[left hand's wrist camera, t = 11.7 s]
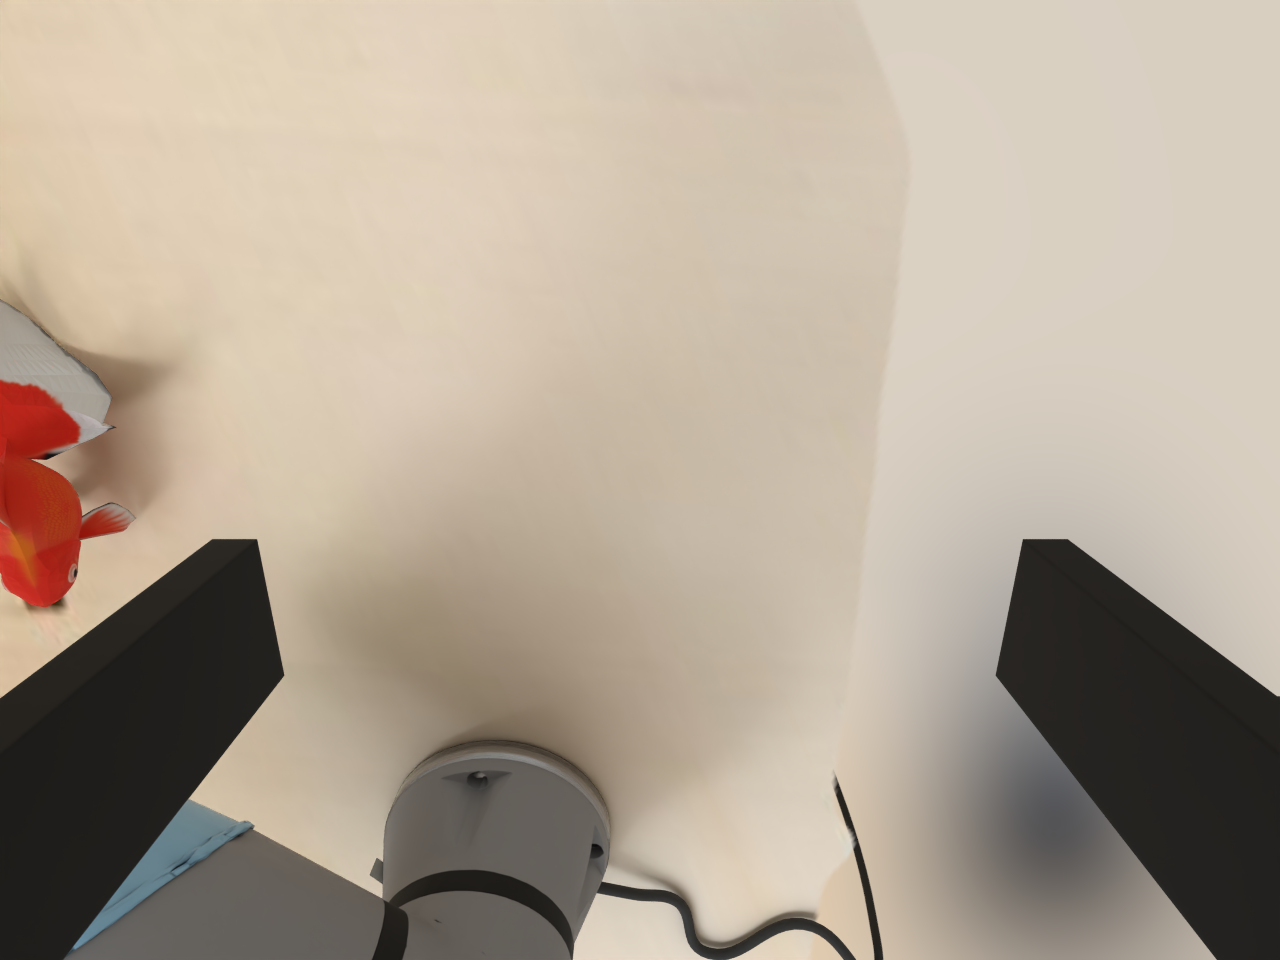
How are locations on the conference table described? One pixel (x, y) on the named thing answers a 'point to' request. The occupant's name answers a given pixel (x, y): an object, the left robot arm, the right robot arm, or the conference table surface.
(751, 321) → the conference table surface
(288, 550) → the conference table surface
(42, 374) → the fish
